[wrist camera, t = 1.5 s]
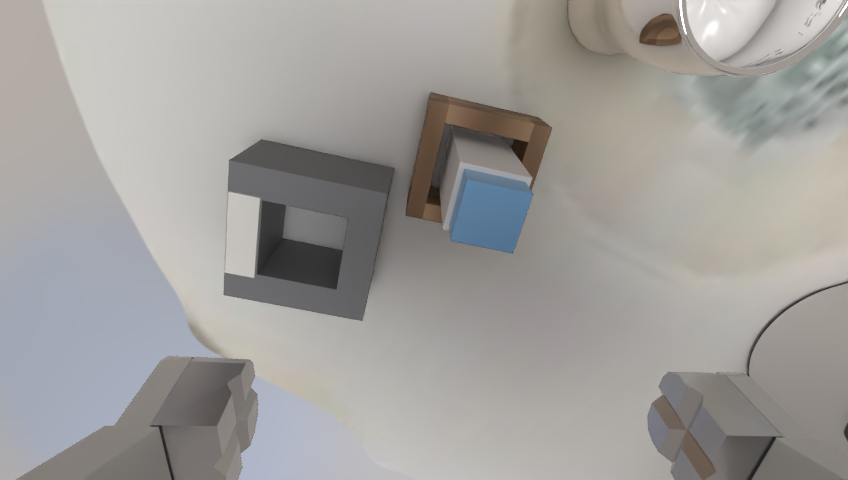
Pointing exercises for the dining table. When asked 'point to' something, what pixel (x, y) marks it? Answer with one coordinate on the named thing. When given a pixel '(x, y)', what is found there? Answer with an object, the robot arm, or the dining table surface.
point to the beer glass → (707, 32)
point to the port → (294, 261)
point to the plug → (483, 191)
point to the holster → (475, 116)
